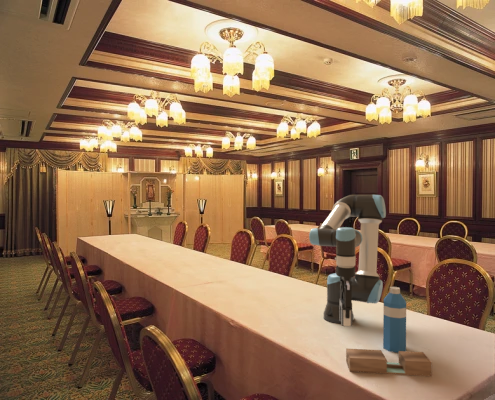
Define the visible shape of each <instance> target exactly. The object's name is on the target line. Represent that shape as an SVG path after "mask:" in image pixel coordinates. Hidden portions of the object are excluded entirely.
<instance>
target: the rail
mask: <svg viewBox="0 0 495 400" xmlns="http://www.w3.org/2000/svg"><path fill="white" fill-rule="evenodd" d="M345 350H346V351H345V357H346V358H345V362H346V365H347V368H348V370H349V372H350V373H364V374H365V373H367V374H382V375H383V374H385V375H401V376H402V375H403V376H421V377H432V375H433V374H432V372H433V371H432V366H433V365H432V363H433V362H432V361H431V359H429V357H428V356H427V355H426V354H425V353H424V352H423V351H407V350H406V351H399V353H398V361H397V362H392V361H391V362H388V359H387V358H386V357H385V355H384V353H383V350H380V349H364V348H363V349H362V348H345Z"/></svg>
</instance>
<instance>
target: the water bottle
mask: <svg viewBox="0 0 495 400" xmlns="http://www.w3.org/2000/svg"><path fill="white" fill-rule="evenodd" d="M382 319H383V327H382V328H383V329H382V331H383V335H382V336H383V337H382V339H383V342H382V344H383V345H382V347H383V349H385V350H386V351H388V352H391V353H398V354H399V351H407V301H406V300H405V297H404V296H403V295H402V293H401V288H400V287H397V286H389V292H388V293H387V294H386V295H385V297H384V298H383V318H382Z"/></svg>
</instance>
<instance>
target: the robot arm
mask: <svg viewBox="0 0 495 400" xmlns="http://www.w3.org/2000/svg"><path fill="white" fill-rule="evenodd" d="M386 215H387V211H386V204H385V198H384V197H383V196H382V195H381V194H349V195H347V196H344V197H343V198H340V199H339V200H337V201H336V202H335V203H334V205H333V206H332V208H331V211H330V213H329V214H328V216H327V217H326V218H325V220H324V221H323V223H322V224H321V225H320V226H319V227H313V228H311V229H310V231H309V233H308V234H309V235H308V239H309V243H310V244H311V245H314V246H321V247H322V246H323V247H336V249H335V251H336V253H335V255H336V257H334V260H335V262H336V263H335V264H336V267H335V273H330V274H329V275H328V276H327V277H326V278H327V281H326V296H327V297H326V304H325V308H324V310H323V319H324V320H326V321H327V322H331V323H333V324H334V323H335V324H341V322H340V299H344V308H342V310H343V325H344V326H343V327H352V326H351V310H352V323H353V322H354V320H355V315H354V312H353V303H352V302H353V301H354V302H358V303H359V302H360V303H361V302H362V303H366V304H377V303H379V302H380V299H381V297H382V293H383V288H384V287H383V285H384V284H383V281H382V279H380V274H378V273H377V272H378V271H377V269H378V267H377V265H378V248H379V247H378V246H379V226H380V224H381V223H382V222H383V219H384V218H386ZM350 217H351V218H352V217H353V218H354V217H355V218H357V220H358V222H359V223H360V231H359V230H357V229H355V228H353V227H349V226H348V227H347V226H345V227H344V226H342V225H343V223H344V221H345V220H347V219H349V218H350ZM357 247H359V253H358V256H359V257H358V269H357V270H356V267H355V266H356V259H357V258H356V257H357V256H356V248H357Z"/></svg>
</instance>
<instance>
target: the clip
mask: <svg viewBox="0 0 495 400" xmlns="http://www.w3.org/2000/svg"><path fill="white" fill-rule="evenodd" d="M342 308H344V299H340V322H341V323H340V324H341V326H342V327H345V326H344V325H343V310H342ZM352 311H353V309H352V310H351V326H350V327H353V322H352Z"/></svg>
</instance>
